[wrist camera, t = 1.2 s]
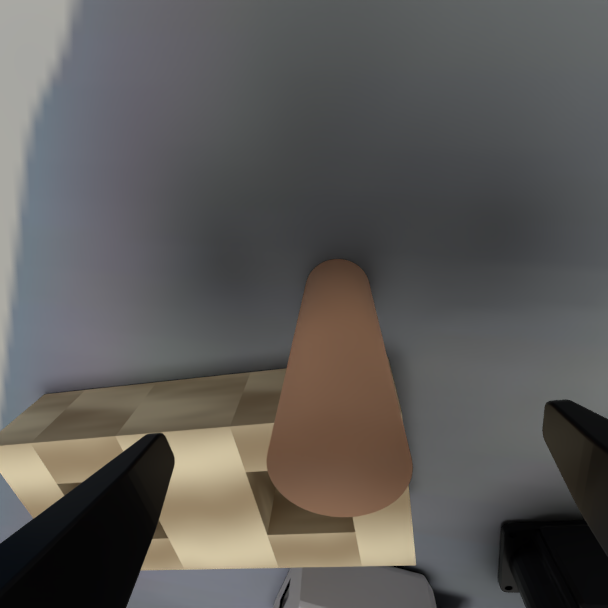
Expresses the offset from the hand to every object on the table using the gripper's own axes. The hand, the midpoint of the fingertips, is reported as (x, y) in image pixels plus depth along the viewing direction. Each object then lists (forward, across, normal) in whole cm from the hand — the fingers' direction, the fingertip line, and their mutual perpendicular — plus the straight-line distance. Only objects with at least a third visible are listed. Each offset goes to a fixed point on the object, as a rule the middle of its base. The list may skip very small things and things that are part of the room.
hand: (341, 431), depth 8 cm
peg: (+9, 0, 0) cm, 9 cm away
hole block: (+9, +8, +9) cm, 15 cm away
